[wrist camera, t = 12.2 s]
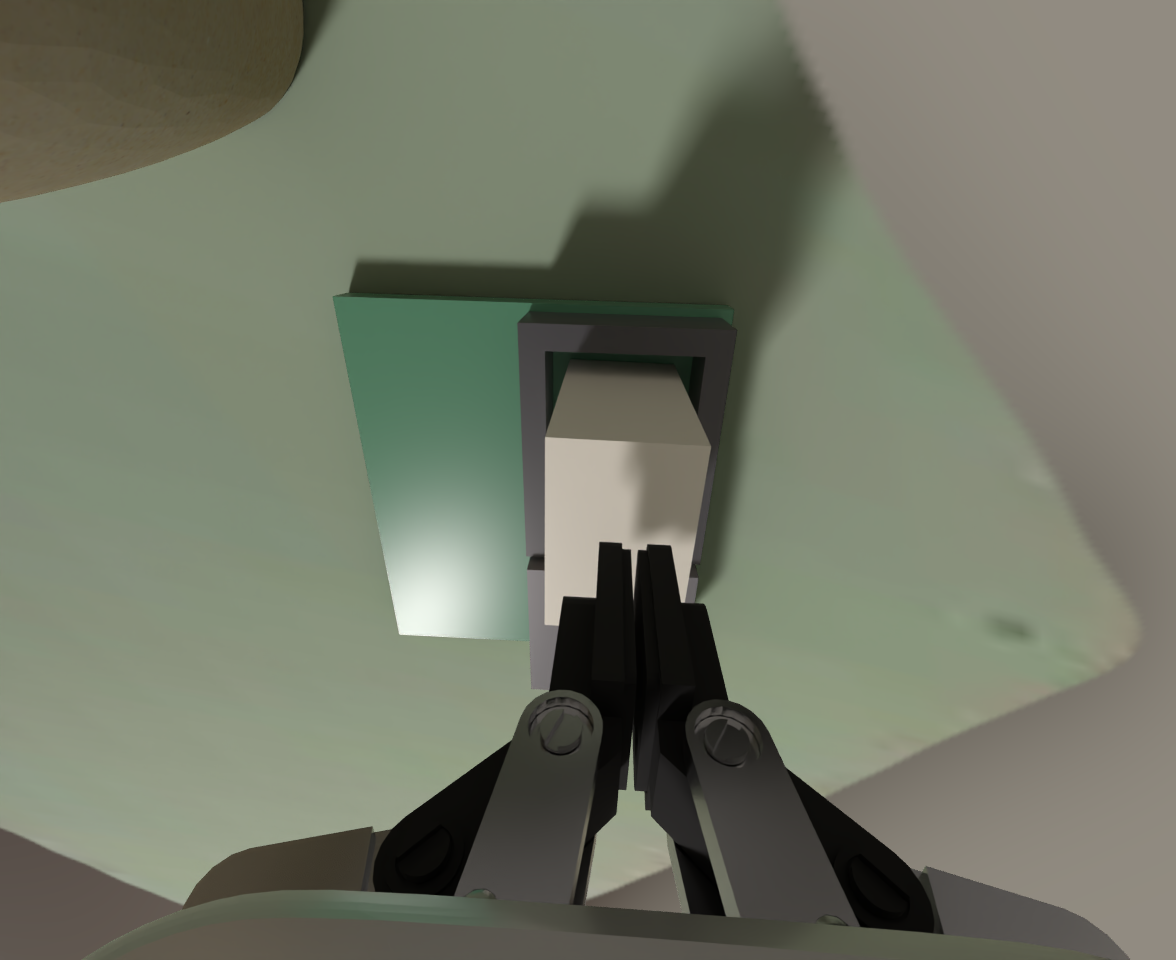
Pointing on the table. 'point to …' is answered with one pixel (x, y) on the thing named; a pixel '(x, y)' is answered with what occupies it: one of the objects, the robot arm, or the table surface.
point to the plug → (619, 473)
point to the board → (493, 432)
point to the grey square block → (546, 635)
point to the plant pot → (132, 82)
